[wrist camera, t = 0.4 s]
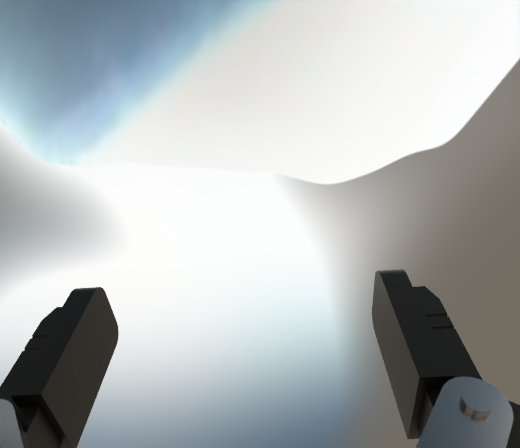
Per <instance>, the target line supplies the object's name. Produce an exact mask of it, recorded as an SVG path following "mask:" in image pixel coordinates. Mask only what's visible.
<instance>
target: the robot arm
mask: <svg viewBox="0 0 520 448" xmlns="http://www.w3.org/2000/svg"><path fill="white" fill-rule="evenodd" d="M372 318H373V325H374V330H375V334H376V337H377V340H378V344H379V347H380V350H381V354H382V357H383V360H384V363H385V366H386V370H387V373H388V376H389V379H390V383H391V386H392V389H393V393H394V396H395V399H396V403H397V406H398V409H399V412H400V415H401V419H402V422H403V425H404V429H405V432H406V435H407V438H408V439H415V438H416V439H417V438H420V439H419V441H418V444H417V446H416V448H520V405H518V404H515V403H513V402H510V401H508V400H507V399H506V397H505V396H504V395H503V394H502V393H501V392H500V391H499V390H498V389H496V388H495V387H494V386H492V385H491V384H489V383H487V382H485V381H483V380H482V378H481V376H480V375H479V373H478V371H477V369H476V367H475V365H474V364H473V362H472V360H471V358H470V356H469V354H468V352H467V350H466V348H465V346H464V345H463V343H462V341H461V339H460V337H459V335H458V333H457V332H456V330H455V329H454V326H453V324H452V322H451V321H450V318H449V317H447V313H446V311H445V309H444V307H443V305H442V303H441V301H440V299H439V298H438V297H436V296H435V295H434V294H433V293H432V292H431V291H430V290H428V289H427V288H426V287H425V286H422V287H412V285H411V282H410V280H409V278H408V276H407V274H406V272H405V271H404V270H403V269H401V270H385V271H377V272H376V275H375V283H374V295H373V306H372ZM32 336H33V338H32V339H30V340H29V342H28V343H27V345H26V347H25V351H23V352H22V353H21V355H20V356H19V358H18V359H17V361H16V363H15V364H14V366H13V367H12V369H11V371H10V372H9V374H8V376H7V377H6V379H5V380H4V382H3V383H2V385H1V386H0V448H77V445H78V443H79V440H80V437H81V435H82V432H83V429H84V427H85V425H86V422H87V419H88V417H89V414H90V412H91V409H92V407H93V404H94V401H95V399H96V396H97V394H98V391H99V389H100V386H101V383H102V381H103V378H104V376H105V373H106V371H107V368H108V365H109V363H110V360H111V358H112V355H113V352H114V350H115V347H116V345H117V341H118V325H117V322H116V319H115V317H114V314H113V311H112V309H111V306H110V304H109V301H108V298H107V296H106V293H105V291H104V290H103V288H101V287H98V288H97V287H96V288H80V289H74V290H73V291H72V292H71V293H70V295H69V297H68V299H67V300H66V302H65V304H64V305H63V307H57V308H56V309H54V310H53V311H52V312H51V313H50V314H49V315H48V316H47V317H45V318H44V319H43V320H42V321H41V323H40V324H39V326H38V327H37V329H36V331H35V332H34V334H33V335H32Z"/></svg>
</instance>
